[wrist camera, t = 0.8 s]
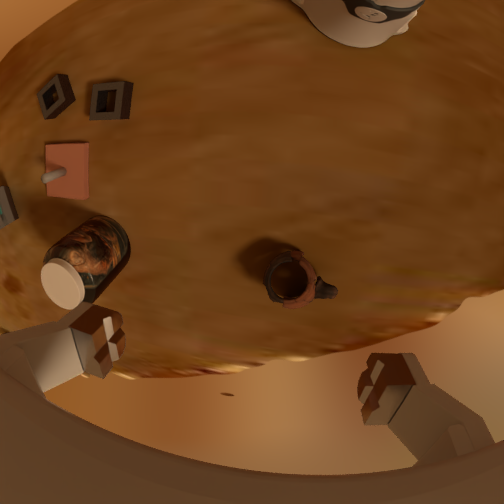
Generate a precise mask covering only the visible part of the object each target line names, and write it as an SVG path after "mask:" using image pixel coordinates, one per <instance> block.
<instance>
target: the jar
mask: <svg viewBox="0 0 504 504" xmlns="http://www.w3.org/2000/svg"><path fill="white" fill-rule="evenodd" d="M130 253H131V247H130V242H129V239H128V236H127V234H126V232H125V231H124V229H123V228H122V227H121V226H120V225H119V224H118V223H117V222H116V221H114V220H113V219H111V218H108V217H105V216H97V217H94V218H91V219H90V220H88V221H86V222H85V223H83V224H82V225H80V226H79V227H77V228H76V229H74V230H73V231H72V232H70V233H69V234H67V235H66V236H65V237H63V238H62V239H61V240H59V241H58V242H57V243H55V244H54V245H53V246H52V247H51V248H50V249H49V250H48V251H47V253H46V255H45V257H44V261H43V268H42V271H41V281H42V285H43V287H44V289H45V291H46V293H47V295H48V296H49V297H50V299H51V300H52V301H53V302H54V303H56V304H57V305H58V306H60V307H62V308H64V309H74V308H75V307H76V306H78V305H79V304H80V303H82V302H88V303H91V304H92V303H93V302H94V301H95V300H96V299H97V298H98V297H99V296H100V295H101V294H102V293H103V291H104V290H105V289H106V288H107V287H108V286H109V284H110V283H111V282H112V281H113V280H114V279H115V278H116V276H117V275H118V274H119V273H120V272H121V271H122V269H123V268H124V267H125V266H126V264H127V263H128V261H129V258H130Z"/></svg>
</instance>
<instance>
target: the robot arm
mask: <svg viewBox="0 0 504 504" xmlns="http://www.w3.org/2000/svg"><path fill="white" fill-rule="evenodd" d="M291 1H292V2H294V3H295V4H296V5H298V6H299V7H301V8H302V9H303V10H304V11H305V13H306V14H307V16H308V18H309V19H310V21H311V22H312V23H313V24H314V25H315V27H316V28H317V29H319V30H320V31H321V32H322V33H323V34H325V35H326V36H328V37H329V38H331V39H333V40H335V41H337V42H339V43H342V44H345V45H349V46H353V47H372V46H376V45H379V44H381V43H383V42H384V41H386V40H387V39H388V38H389V37H390V36H392V35H396V34H402V33H404V32H406V31H407V30H408V22H409V21H410V20H411V19H412V18H413V17H415V16H416V14H417V10H418V8H420V6H421V5H422V4H423V3H424V1H425V0H291ZM122 324H123V319H122V315H121V314H120V313H119V312H117V311H114V310H111V309H108V308H104V307H101V306H98V305H95V304H91V303H88V302H82V303H80V304H79V305H78V306H76V307H75V308H74V309H73V310H71V311H70V312H69V313H68V314H66V315H65V316H64V317H63V318H62V319H60V320H59V321H58V322H54V321H53V322H49V323H45V324H41V325H37V326H33V327H29V328H25V329H21V330H17V331H13V332H9V333H5V334H1V335H0V504H504V440H503V441H500V442H498V443H495V442H494V440H493V438H492V436H491V434H490V432H489V430H488V428H487V426H486V424H485V422H484V420H483V418H482V417H480V416H479V415H478V414H476V413H475V412H473V411H472V410H471V409H469V408H468V407H466V406H465V405H463V404H462V403H460V402H459V401H458V400H456V399H454V398H453V397H452V396H450V395H449V394H448V393H446V392H445V391H443V390H442V389H440V388H439V387H437V386H436V385H434V384H430V382H429V380H428V379H427V376H426V375H425V373H424V371H423V369H422V367H421V365H420V363H419V362H418V359H417V357H416V356H415V355H414V354H413V353H399V354H392V353H371V355H370V356H369V358H368V360H367V366H368V369H366V370H365V371H364V372H362V374H361V376H360V379H359V382H358V387H357V392H358V399H359V400H360V401H361V402H362V403H363V404H364V405H363V407H362V409H361V413H362V417H363V422H364V425H388V427H389V428H390V429H391V430H392V431H393V433H394V434H395V435H396V436H397V437H398V438H399V439H400V440H401V442H402V443H403V444H404V445H405V446H406V447H407V448H408V449H409V451H410V452H411V453H412V454H413V455H414V456H415V457H416V458H417V459H418V461H417V463H416V464H415V465H413V466H412V467H410V468H403V469H397V470H390V471H382V472H373V473H361V474H346V475H298V474H282V473H270V472H261V471H252V470H245V469H239V468H233V467H227V466H222V465H216V464H211V463H207V462H202V461H198V460H194V459H190V458H186V457H182V456H178V455H175V454H171V453H168V452H164V451H161V450H158V449H155V448H152V447H149V446H146V445H143V444H140V443H138V442H135V441H132V440H129V439H127V438H124V437H122V436H119V435H117V434H115V433H112V432H110V431H107V430H105V429H103V428H100V427H98V426H96V425H94V424H92V423H90V422H88V421H86V420H84V419H82V418H80V417H78V416H76V415H74V414H72V413H70V412H68V411H66V410H64V409H63V408H61V407H59V406H57V405H56V404H54V403H52V402H50V401H48V400H47V399H46V397H45V395H44V393H43V392H45V391H47V390H49V389H51V388H53V387H55V386H57V385H60V384H61V383H63V382H65V381H68V380H70V379H72V378H74V377H76V376H78V375H80V374H82V373H84V372H87V373H89V374H92V375H95V376H97V377H100V378H103V379H104V378H105V377H106V375H107V374H108V373H109V371H110V370H111V369H112V367H113V364H112V362H113V361H115V360H118V359H119V358H120V357H121V356H122V354H123V352H124V349H125V345H126V338H125V333H124V332H123V331H122V329H121V328H120V327H121V326H122Z"/></svg>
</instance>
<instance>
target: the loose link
mask: <svg viewBox="0 0 504 504" xmlns="http://www.w3.org/2000/svg"><path fill="white" fill-rule="evenodd" d="M56 91H57V93H58V97H59V99H58V100H57V101H56V102H54V99H53V94H54V93H55V92H56ZM37 96H38V100H39V103H40V107H41V110H42V113H43V116H44V119H53V118H56V117H57V116H58V115H59V114H60V113H61V112H62V111H64V110H65V109H66V108H67V107H68V106H69V105H71V104H72V103H73V102H74V101H75V100H76V99H75V96H74V93H73V90H72V87H71V84H70V81H69V78H68V75H63V74H57V75H56V76H55V77H54V78H53V79H51V80H50V81H49V82H48V83H47V84H46V85H45V86H44V87H43V88H42V89H41V90H40V91H39V92H38V93H37Z"/></svg>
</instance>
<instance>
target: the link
mask: <svg viewBox="0 0 504 504" xmlns="http://www.w3.org/2000/svg"><path fill="white" fill-rule="evenodd" d="M132 90H133V83H130V82H125V81H122V82H111V83H101V84H93V89H92V98H91V107H90V119H89V120H112V119H129V116H130V107H131V98H132ZM111 91H117V92H116V100H115V109H114V112H106V104H107V95H108V92H111Z"/></svg>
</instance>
